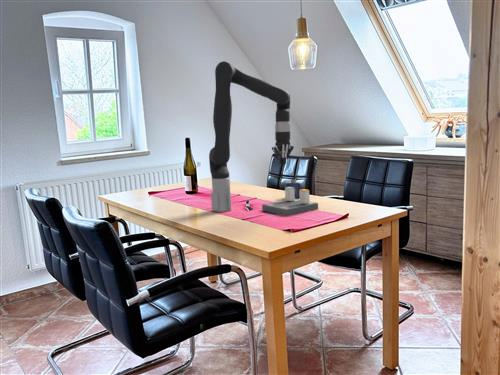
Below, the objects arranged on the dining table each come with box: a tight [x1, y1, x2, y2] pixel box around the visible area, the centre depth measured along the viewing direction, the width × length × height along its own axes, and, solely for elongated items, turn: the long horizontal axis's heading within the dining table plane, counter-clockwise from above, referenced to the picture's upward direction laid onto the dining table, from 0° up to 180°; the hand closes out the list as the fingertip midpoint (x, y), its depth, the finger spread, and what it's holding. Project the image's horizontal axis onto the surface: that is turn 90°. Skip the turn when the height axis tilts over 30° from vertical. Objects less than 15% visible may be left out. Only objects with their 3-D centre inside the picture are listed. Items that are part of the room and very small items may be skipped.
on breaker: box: [284, 187, 296, 201], centre depth 252 cm, size 3×4×7 cm
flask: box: [284, 178, 301, 200], centre depth 275 cm, size 9×3×11 cm, turn 65°
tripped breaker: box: [299, 188, 311, 204], centre depth 243 cm, size 3×4×7 cm
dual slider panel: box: [261, 198, 319, 217], centre depth 246 cm, size 21×19×3 cm
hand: (283, 165), depth 244 cm, fingers closed
